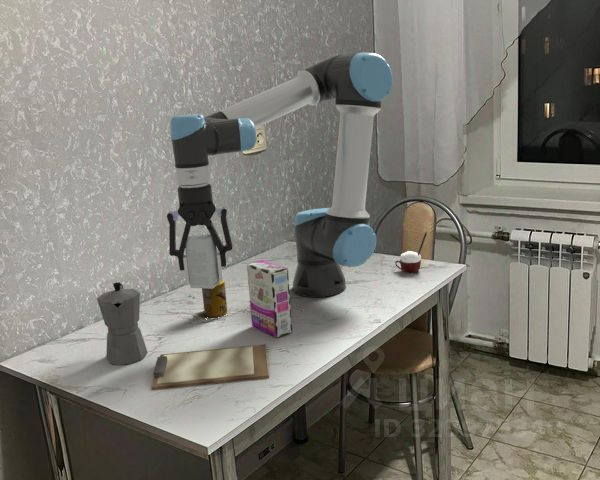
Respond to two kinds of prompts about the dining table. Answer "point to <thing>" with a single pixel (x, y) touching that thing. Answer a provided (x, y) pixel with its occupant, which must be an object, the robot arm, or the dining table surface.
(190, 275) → the skincare box
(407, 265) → the cocoa
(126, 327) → the coffeepot
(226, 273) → the dining table surface
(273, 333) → the candy bar box
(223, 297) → the condiment
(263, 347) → the clipboard
